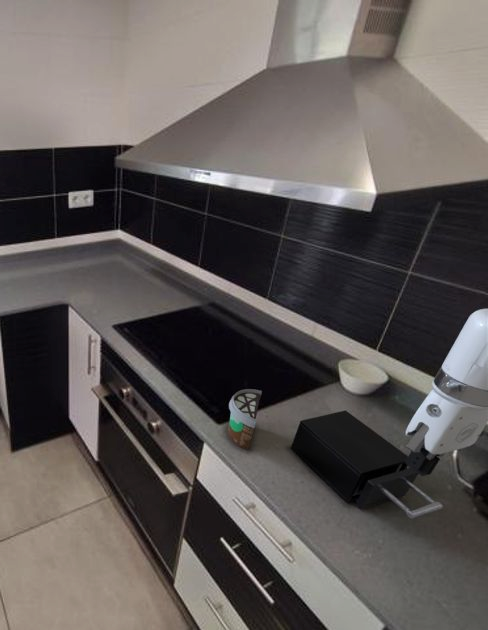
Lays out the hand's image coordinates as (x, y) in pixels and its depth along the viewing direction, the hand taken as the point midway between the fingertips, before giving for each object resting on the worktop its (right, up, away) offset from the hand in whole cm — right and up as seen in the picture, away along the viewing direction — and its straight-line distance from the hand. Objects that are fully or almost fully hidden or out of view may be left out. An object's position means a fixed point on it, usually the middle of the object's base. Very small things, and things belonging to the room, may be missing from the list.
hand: (417, 468), depth 67 cm
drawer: (-1, -8, +10) cm, 13 cm away
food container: (-21, -2, +25) cm, 33 cm away
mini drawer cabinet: (-3, -6, +16) cm, 17 cm away
